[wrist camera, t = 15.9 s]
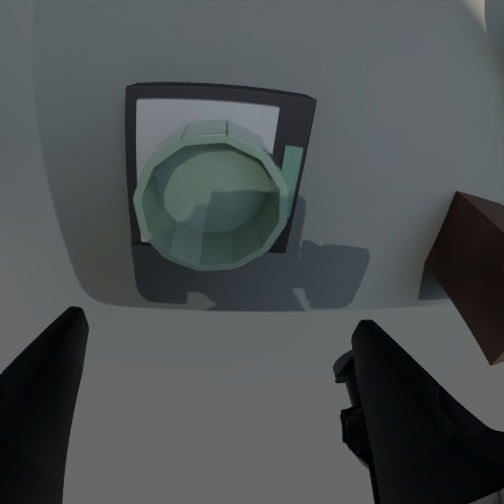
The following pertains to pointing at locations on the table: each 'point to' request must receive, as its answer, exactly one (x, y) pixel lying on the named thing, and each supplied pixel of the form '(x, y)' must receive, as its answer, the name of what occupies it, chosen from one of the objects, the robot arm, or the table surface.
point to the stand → (474, 268)
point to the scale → (217, 108)
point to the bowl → (211, 197)
